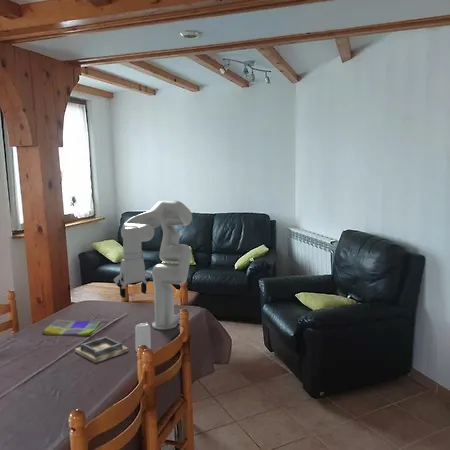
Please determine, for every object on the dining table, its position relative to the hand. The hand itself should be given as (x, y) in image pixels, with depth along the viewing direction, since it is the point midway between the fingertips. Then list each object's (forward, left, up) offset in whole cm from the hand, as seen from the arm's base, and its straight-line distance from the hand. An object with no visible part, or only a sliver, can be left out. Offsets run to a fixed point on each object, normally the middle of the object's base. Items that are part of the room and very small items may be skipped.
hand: (133, 295), depth 191 cm
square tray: (+10, -10, -25) cm, 29 cm away
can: (-3, +2, -25) cm, 25 cm away
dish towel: (+5, -44, -26) cm, 51 cm away
